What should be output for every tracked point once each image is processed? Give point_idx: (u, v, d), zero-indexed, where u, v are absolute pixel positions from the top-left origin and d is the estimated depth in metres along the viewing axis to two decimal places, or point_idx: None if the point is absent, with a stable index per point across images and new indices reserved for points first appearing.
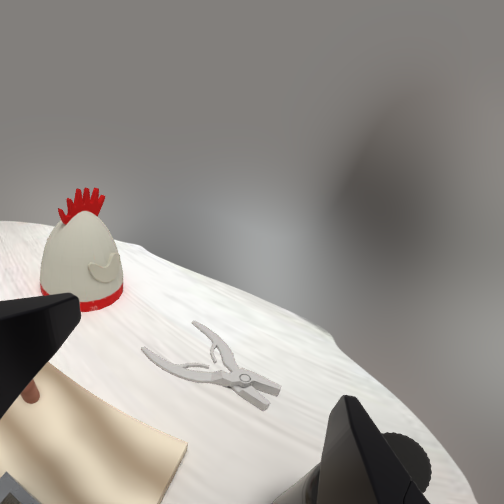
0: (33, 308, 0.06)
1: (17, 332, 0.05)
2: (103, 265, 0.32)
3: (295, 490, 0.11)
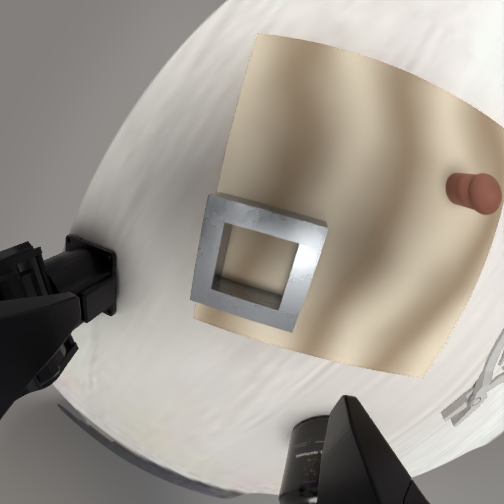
0: (33, 308, 0.06)
1: (17, 332, 0.05)
2: None
3: None
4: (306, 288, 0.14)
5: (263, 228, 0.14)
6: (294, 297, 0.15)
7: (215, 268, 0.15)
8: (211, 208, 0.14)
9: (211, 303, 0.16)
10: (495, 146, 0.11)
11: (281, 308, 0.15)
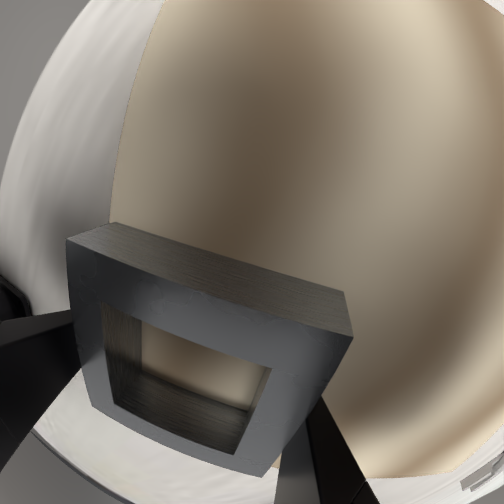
0: (56, 326, 0.06)
1: (40, 352, 0.05)
2: None
3: None
4: (288, 438, 0.06)
5: (179, 327, 0.05)
6: (263, 446, 0.06)
7: (111, 376, 0.07)
8: (74, 268, 0.05)
9: (121, 420, 0.07)
10: None
11: (239, 454, 0.06)
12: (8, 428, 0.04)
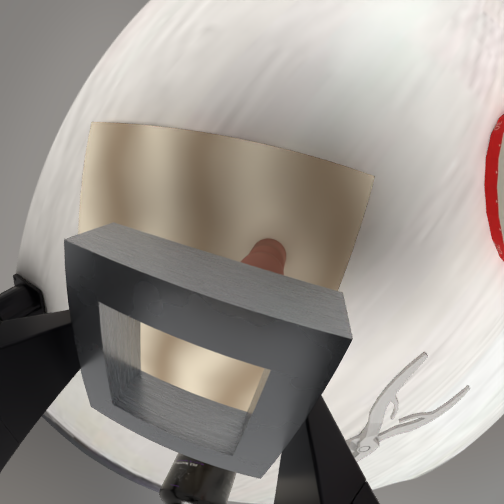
0: (56, 326, 0.06)
1: (40, 352, 0.05)
2: None
3: (203, 484, 0.18)
4: (286, 439, 0.06)
5: (177, 328, 0.05)
6: (261, 447, 0.06)
7: (109, 377, 0.06)
8: (73, 269, 0.05)
9: (120, 421, 0.07)
10: (334, 197, 0.14)
11: (237, 455, 0.06)
12: (8, 428, 0.04)
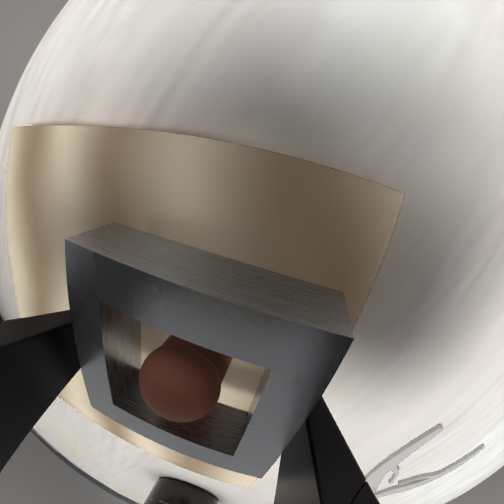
0: (56, 326, 0.06)
1: (40, 352, 0.05)
2: None
3: None
4: (287, 439, 0.06)
5: (178, 327, 0.05)
6: (262, 447, 0.06)
7: (110, 377, 0.06)
8: (73, 268, 0.05)
9: (121, 421, 0.07)
10: (328, 233, 0.08)
11: (238, 455, 0.06)
12: (8, 428, 0.04)
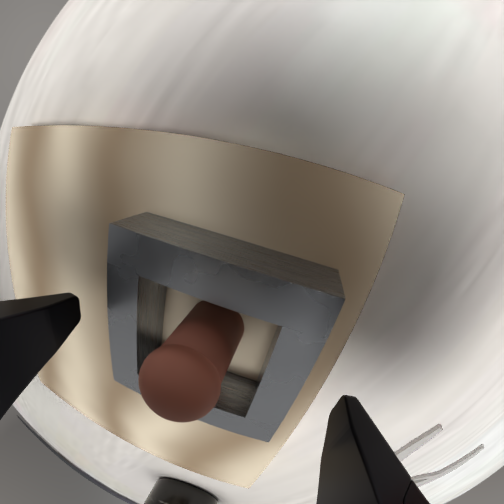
0: (33, 308, 0.06)
1: (17, 332, 0.05)
2: None
3: None
4: (293, 395, 0.07)
5: (208, 293, 0.07)
6: (271, 405, 0.07)
7: (138, 346, 0.08)
8: (115, 248, 0.07)
9: None
10: (328, 233, 0.08)
11: (250, 415, 0.08)
12: None
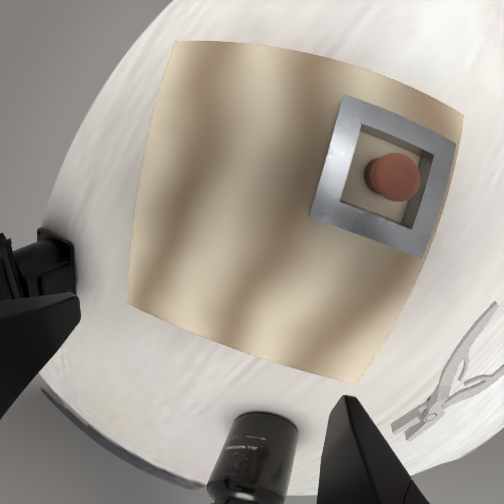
0: (33, 308, 0.06)
1: (17, 332, 0.05)
2: None
3: (266, 471, 0.16)
4: (439, 204, 0.11)
5: (401, 134, 0.11)
6: (428, 214, 0.11)
7: (346, 176, 0.12)
8: (346, 107, 0.11)
9: (336, 221, 0.13)
10: (435, 127, 0.12)
11: (414, 227, 0.12)
12: None
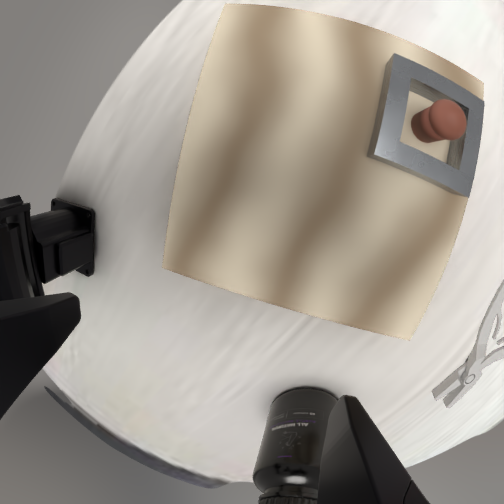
0: (33, 308, 0.06)
1: (17, 332, 0.05)
2: None
3: (322, 447, 0.15)
4: (477, 149, 0.10)
5: (442, 89, 0.10)
6: (470, 157, 0.11)
7: (403, 120, 0.11)
8: (398, 63, 0.10)
9: (399, 159, 0.12)
10: None
11: (461, 168, 0.11)
12: None
